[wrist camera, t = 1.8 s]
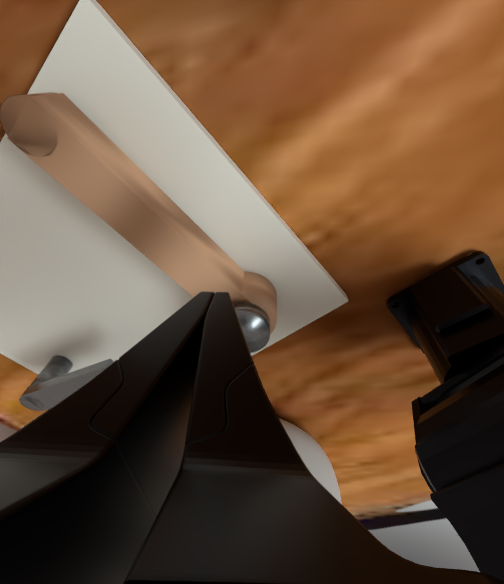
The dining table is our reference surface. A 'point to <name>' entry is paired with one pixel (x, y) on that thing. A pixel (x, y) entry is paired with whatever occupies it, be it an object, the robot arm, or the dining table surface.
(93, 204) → the link
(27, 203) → the hinge board
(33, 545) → the robot arm
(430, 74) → the dining table surface
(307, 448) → the gray curved shell
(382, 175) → the dining table surface
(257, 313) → the keeper
